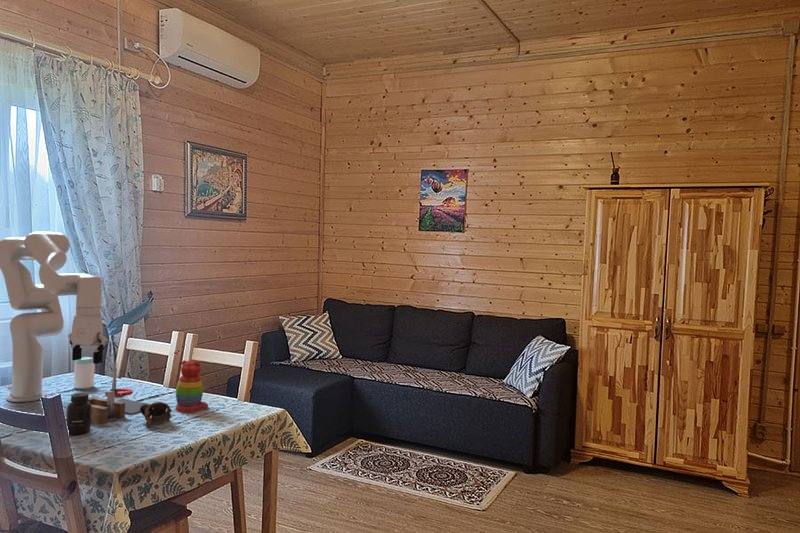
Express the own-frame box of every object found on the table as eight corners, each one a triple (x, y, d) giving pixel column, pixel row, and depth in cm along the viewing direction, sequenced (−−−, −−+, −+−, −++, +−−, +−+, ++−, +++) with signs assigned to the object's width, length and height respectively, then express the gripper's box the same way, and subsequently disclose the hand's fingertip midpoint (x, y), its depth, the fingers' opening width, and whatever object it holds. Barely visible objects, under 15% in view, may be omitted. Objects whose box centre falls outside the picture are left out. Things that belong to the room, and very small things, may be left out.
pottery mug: (178, 421, 201) (178, 404, 196) (160, 441, 193) (159, 424, 188) (148, 409, 203) (147, 392, 198) (129, 428, 195) (127, 410, 191)
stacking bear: (209, 406, 218) (211, 359, 218) (196, 414, 208) (198, 364, 208) (182, 404, 220) (184, 356, 219) (168, 411, 210) (169, 362, 209)
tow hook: (117, 390, 236) (102, 395, 227) (119, 358, 236) (104, 361, 227) (136, 392, 234) (122, 397, 225) (138, 360, 235) (124, 363, 225)
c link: (70, 417, 198) (71, 402, 198) (93, 410, 207) (93, 396, 206) (102, 424, 193) (103, 409, 193) (124, 417, 201) (125, 402, 201)
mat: (95, 407, 210) (95, 406, 210) (122, 399, 221) (122, 398, 221) (131, 414, 204) (131, 413, 204) (157, 406, 215) (157, 405, 215)
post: (101, 420, 197) (102, 391, 196) (110, 417, 200) (111, 389, 200) (109, 422, 195) (110, 393, 195) (119, 419, 199) (119, 391, 198)
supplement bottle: (73, 437, 179) (74, 398, 179) (61, 432, 183) (62, 394, 182) (95, 432, 185) (96, 394, 184) (83, 427, 189) (84, 390, 188)
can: (78, 390, 231) (79, 360, 231) (70, 387, 236) (71, 357, 235) (96, 387, 237) (97, 358, 236) (89, 384, 241) (89, 355, 241)
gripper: (60, 310, 200) (59, 360, 201) (98, 315, 194) (96, 366, 195) (79, 308, 207) (78, 356, 208) (116, 312, 201) (115, 362, 202)
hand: (87, 361), depth 201 cm, fingers open, 9 cm apart
